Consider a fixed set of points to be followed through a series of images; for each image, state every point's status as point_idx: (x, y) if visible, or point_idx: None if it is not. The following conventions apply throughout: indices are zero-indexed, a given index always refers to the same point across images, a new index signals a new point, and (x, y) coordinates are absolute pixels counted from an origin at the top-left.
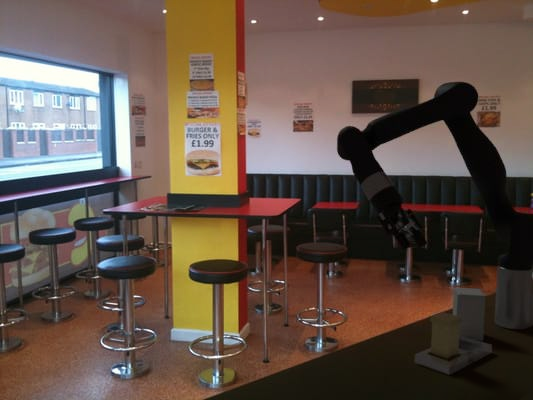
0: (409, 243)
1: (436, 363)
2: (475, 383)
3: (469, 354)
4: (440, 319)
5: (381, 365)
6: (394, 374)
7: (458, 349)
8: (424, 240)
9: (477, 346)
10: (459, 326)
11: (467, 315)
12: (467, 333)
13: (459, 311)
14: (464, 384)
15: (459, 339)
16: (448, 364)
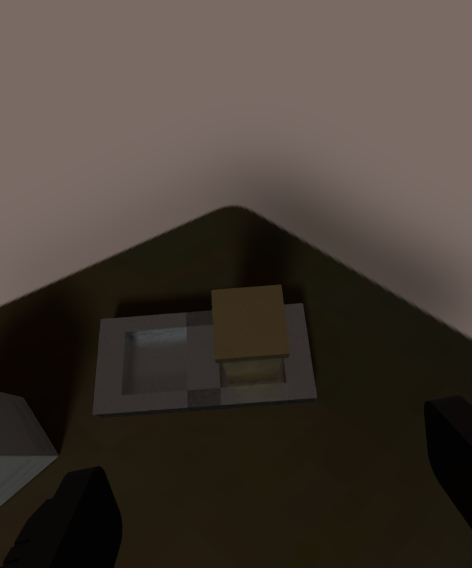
0: (452, 405)
1: (307, 335)
2: (269, 273)
3: (202, 316)
4: (284, 317)
5: (382, 462)
6: (389, 402)
7: (193, 350)
8: (86, 487)
9: (125, 343)
10: (35, 446)
11: (1, 426)
12: (34, 428)
13: (6, 447)
14: (292, 282)
15: (121, 394)
16: (295, 310)
